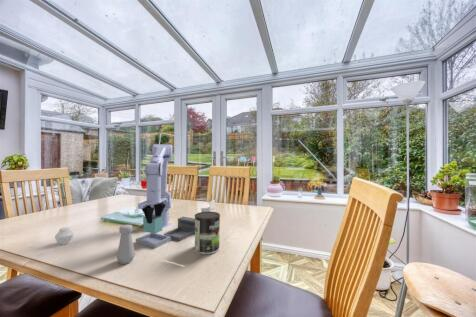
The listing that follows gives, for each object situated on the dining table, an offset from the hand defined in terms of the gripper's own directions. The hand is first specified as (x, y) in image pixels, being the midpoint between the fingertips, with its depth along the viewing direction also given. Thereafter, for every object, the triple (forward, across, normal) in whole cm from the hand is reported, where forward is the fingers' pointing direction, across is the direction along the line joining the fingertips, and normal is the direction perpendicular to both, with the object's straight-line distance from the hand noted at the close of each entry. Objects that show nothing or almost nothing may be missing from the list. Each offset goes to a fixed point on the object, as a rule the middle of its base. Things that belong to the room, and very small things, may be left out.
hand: (153, 221), depth 91 cm
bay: (+9, +13, -5) cm, 17 cm away
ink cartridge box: (+10, +26, -11) cm, 30 cm away
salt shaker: (+10, -16, -4) cm, 19 cm away
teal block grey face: (+4, 0, 0) cm, 4 cm away
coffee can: (+10, +6, -24) cm, 26 cm away
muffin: (+10, -18, +33) cm, 39 cm away
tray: (+9, 0, 0) cm, 9 cm away
